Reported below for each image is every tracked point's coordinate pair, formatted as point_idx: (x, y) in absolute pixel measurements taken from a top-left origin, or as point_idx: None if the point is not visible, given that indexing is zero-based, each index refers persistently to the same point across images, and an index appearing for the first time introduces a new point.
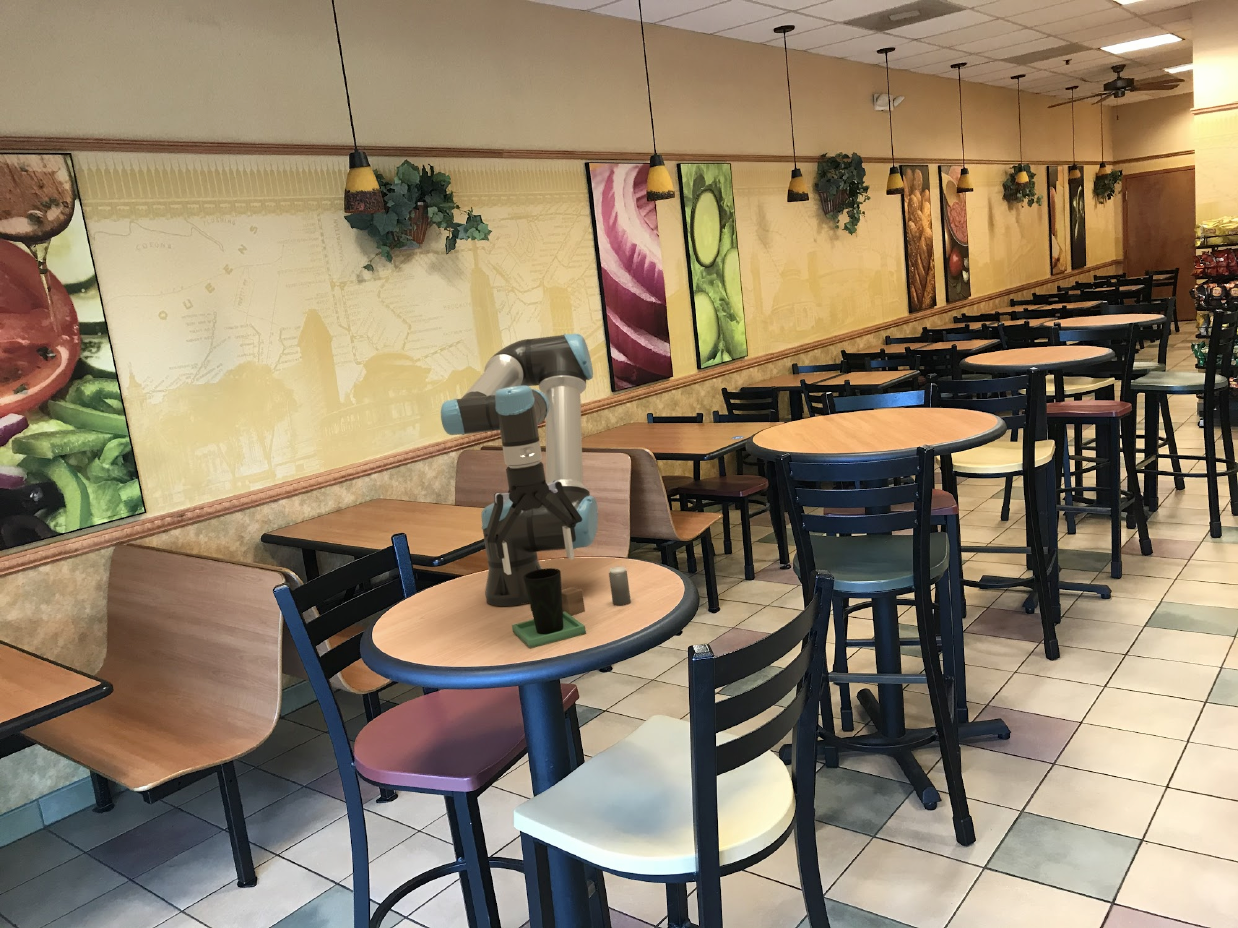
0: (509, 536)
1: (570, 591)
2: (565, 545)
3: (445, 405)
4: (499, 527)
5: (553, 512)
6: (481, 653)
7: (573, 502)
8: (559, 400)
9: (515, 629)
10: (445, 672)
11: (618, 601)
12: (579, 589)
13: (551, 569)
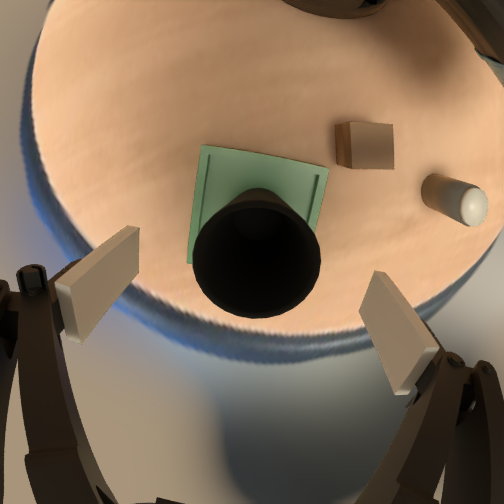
0: None
1: (371, 153)
2: (388, 298)
3: None
4: (18, 336)
5: (371, 479)
6: (119, 207)
7: None
8: None
9: (197, 172)
10: (64, 238)
11: (427, 202)
12: (391, 162)
13: (309, 241)
